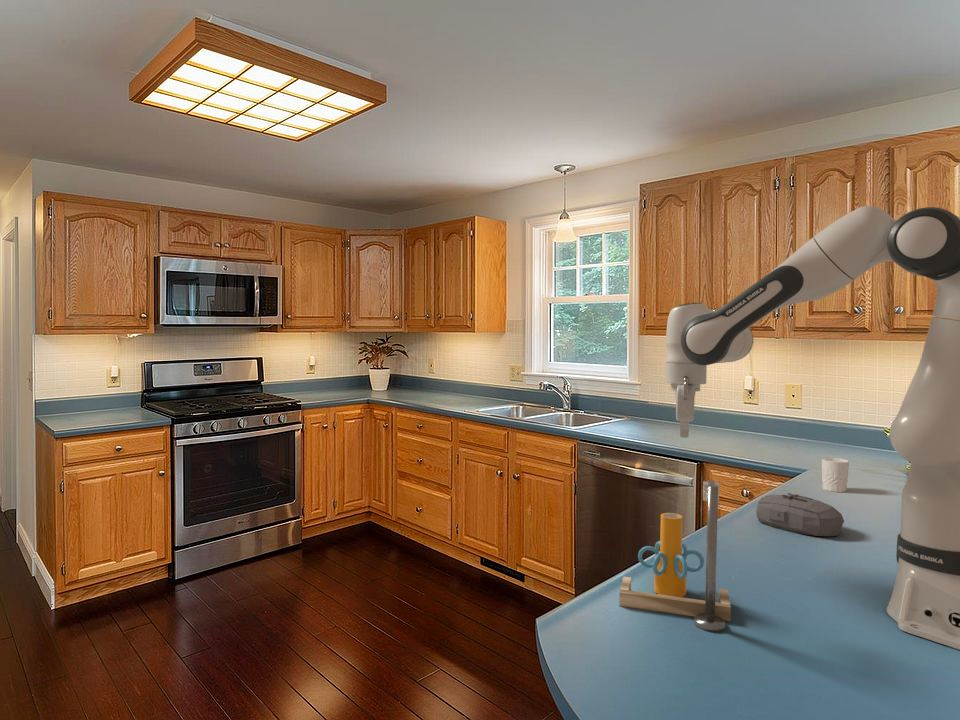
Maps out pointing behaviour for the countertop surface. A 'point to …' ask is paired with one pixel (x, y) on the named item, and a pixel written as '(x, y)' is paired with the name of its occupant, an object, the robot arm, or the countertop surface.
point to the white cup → (834, 474)
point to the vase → (670, 558)
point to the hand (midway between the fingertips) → (684, 436)
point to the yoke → (671, 602)
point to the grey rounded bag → (799, 515)
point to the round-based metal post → (710, 561)
